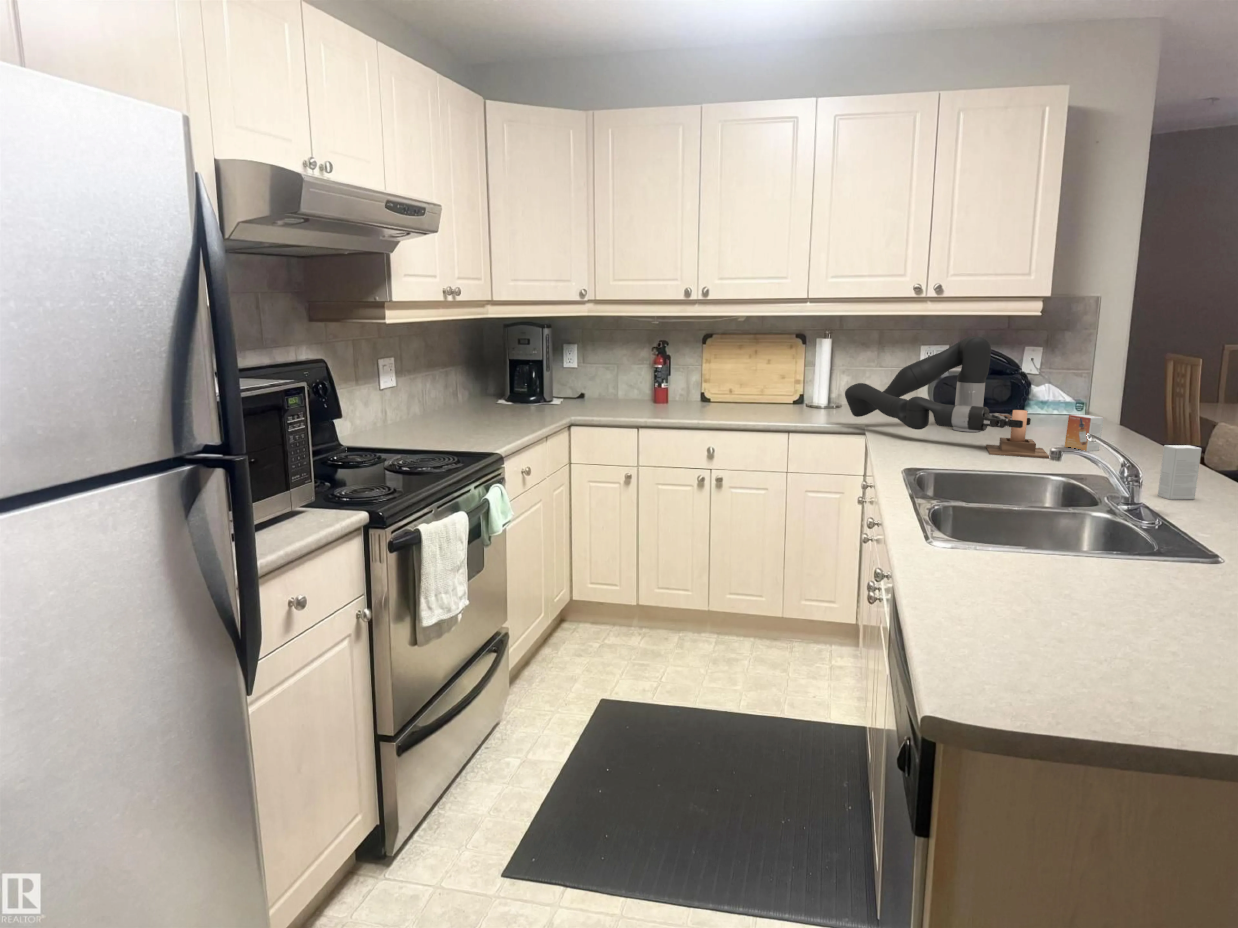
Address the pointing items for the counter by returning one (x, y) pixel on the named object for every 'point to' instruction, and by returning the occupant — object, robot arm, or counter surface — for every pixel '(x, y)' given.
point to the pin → (1019, 433)
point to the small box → (1083, 431)
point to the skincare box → (1179, 472)
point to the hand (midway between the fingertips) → (1026, 423)
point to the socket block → (1017, 449)
